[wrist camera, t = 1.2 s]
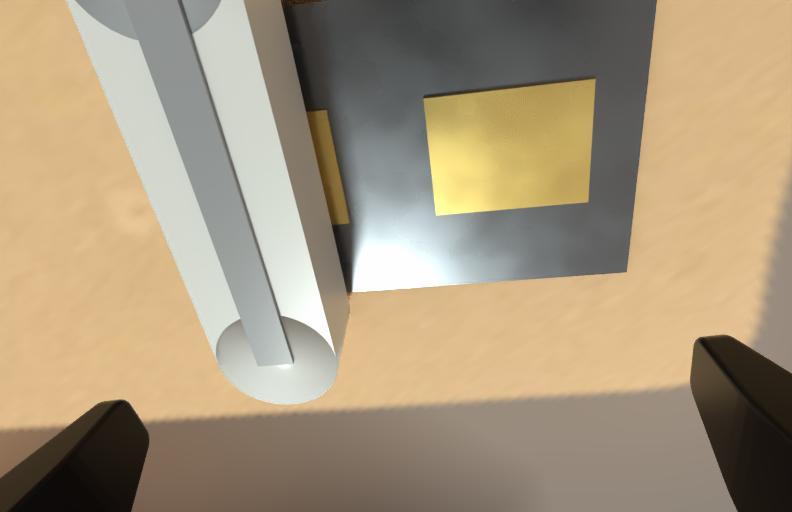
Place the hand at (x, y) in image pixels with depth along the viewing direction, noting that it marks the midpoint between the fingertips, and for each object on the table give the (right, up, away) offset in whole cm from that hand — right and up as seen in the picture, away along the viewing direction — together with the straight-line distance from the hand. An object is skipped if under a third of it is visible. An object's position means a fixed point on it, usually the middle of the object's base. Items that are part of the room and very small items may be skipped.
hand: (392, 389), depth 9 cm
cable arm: (-4, +5, +9) cm, 11 cm away
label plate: (-1, +7, +8) cm, 11 cm away
